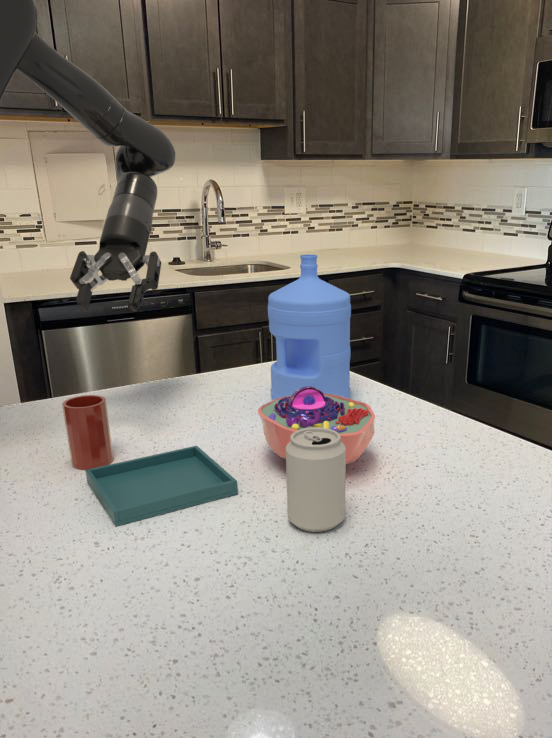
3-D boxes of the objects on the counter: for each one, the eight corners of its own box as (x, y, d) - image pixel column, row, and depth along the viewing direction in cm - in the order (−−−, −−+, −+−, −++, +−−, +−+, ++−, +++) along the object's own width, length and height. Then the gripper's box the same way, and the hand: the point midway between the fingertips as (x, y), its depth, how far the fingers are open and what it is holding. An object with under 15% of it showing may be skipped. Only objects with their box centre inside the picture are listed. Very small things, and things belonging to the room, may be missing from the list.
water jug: (320, 384, 141) (319, 249, 131) (366, 403, 129) (368, 256, 119) (256, 397, 133) (250, 254, 123) (298, 419, 121) (295, 263, 111)
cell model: (291, 498, 92) (289, 422, 88) (246, 447, 109) (243, 381, 105) (397, 476, 98) (400, 404, 94) (339, 431, 115) (339, 369, 111)
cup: (77, 473, 100) (67, 410, 97) (68, 459, 105) (58, 399, 102) (117, 464, 103) (110, 403, 100) (107, 450, 108) (99, 392, 105)
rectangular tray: (115, 526, 85) (113, 512, 84) (87, 482, 97) (85, 469, 96) (238, 494, 93) (237, 480, 93) (197, 457, 105) (196, 445, 105)
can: (317, 541, 81) (317, 451, 77) (275, 521, 86) (272, 435, 82) (357, 519, 86) (358, 433, 82) (314, 501, 91) (314, 419, 87)
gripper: (78, 213, 111) (55, 294, 105) (160, 212, 109) (141, 295, 103) (97, 242, 118) (76, 320, 111) (174, 242, 116) (157, 321, 110)
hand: (107, 308), depth 107 cm, fingers open, 8 cm apart
